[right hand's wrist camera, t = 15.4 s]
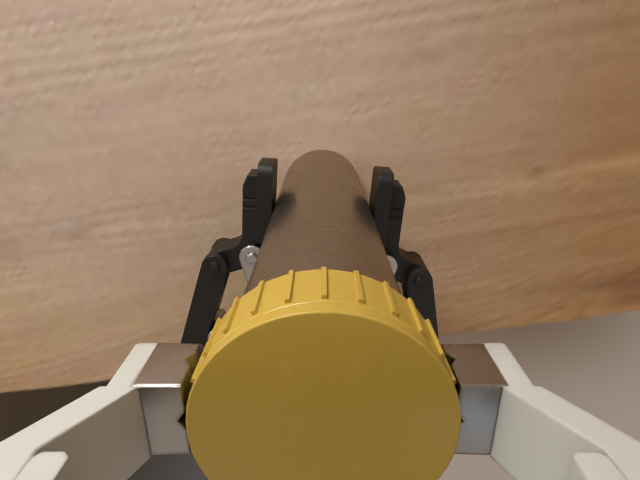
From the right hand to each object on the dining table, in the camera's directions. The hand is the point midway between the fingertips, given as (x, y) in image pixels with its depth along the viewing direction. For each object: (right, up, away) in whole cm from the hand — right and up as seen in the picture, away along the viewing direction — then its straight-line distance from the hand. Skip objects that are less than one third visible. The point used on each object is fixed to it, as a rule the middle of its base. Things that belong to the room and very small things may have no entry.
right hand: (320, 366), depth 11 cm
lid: (0, -1, -2) cm, 2 cm away
